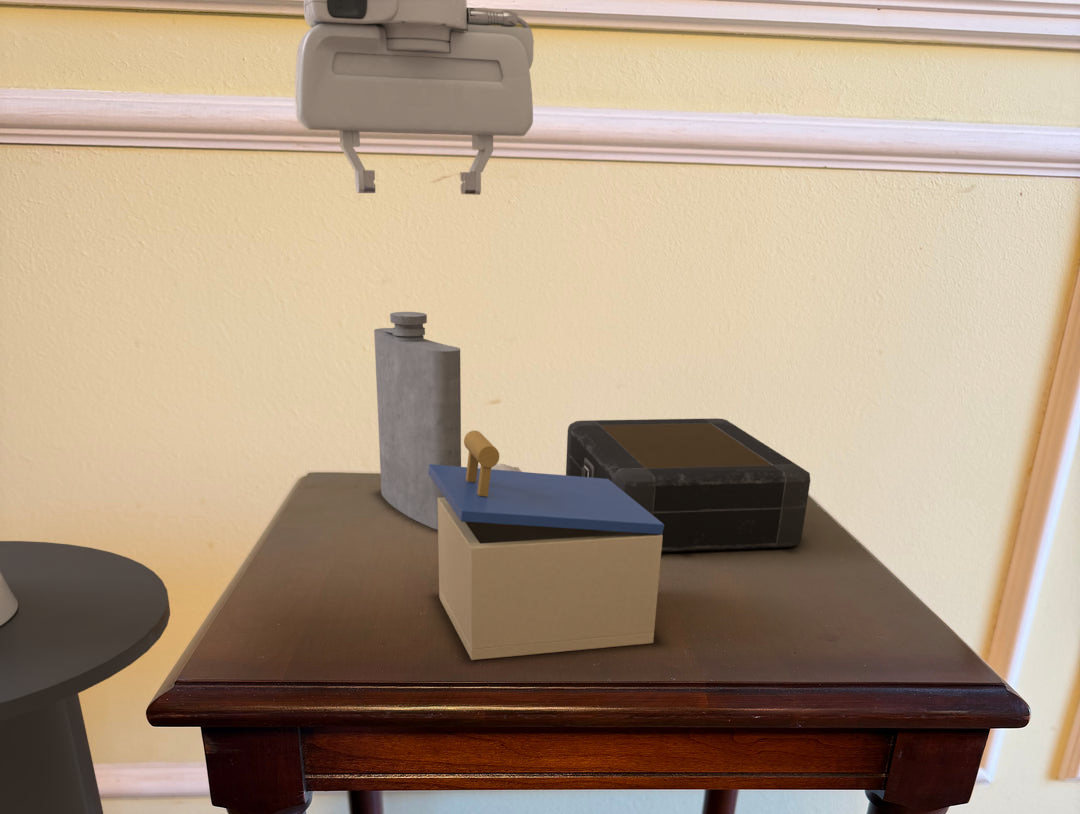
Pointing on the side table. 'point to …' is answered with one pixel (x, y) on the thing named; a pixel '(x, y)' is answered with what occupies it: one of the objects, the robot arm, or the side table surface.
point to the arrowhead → (504, 467)
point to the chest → (545, 586)
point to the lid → (536, 496)
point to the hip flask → (416, 414)
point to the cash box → (696, 480)
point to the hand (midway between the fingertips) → (419, 193)
